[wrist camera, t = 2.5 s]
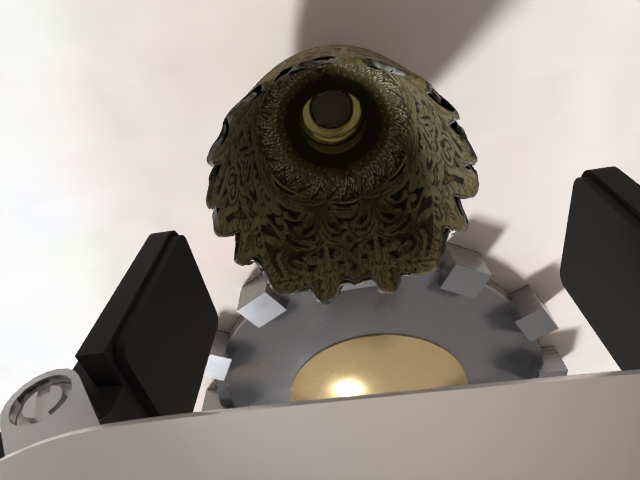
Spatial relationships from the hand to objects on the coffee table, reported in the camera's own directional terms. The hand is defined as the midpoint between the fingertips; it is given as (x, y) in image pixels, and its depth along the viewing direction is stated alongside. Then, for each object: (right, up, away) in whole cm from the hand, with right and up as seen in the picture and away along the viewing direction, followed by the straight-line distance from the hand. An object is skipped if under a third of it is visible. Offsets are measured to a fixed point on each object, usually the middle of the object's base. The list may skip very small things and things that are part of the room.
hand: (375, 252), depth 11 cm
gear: (+2, -9, +18) cm, 20 cm away
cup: (-1, +6, +8) cm, 10 cm away
